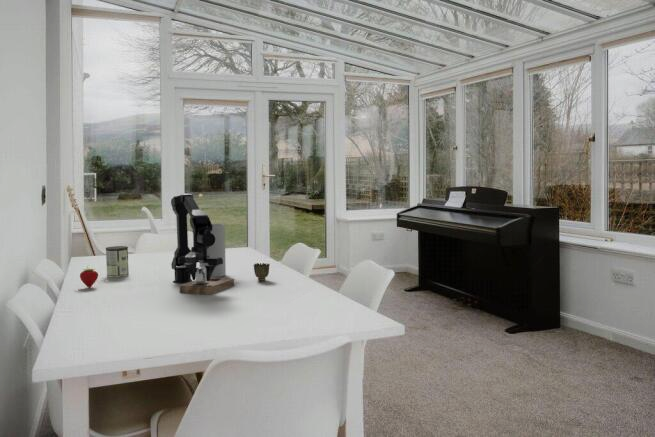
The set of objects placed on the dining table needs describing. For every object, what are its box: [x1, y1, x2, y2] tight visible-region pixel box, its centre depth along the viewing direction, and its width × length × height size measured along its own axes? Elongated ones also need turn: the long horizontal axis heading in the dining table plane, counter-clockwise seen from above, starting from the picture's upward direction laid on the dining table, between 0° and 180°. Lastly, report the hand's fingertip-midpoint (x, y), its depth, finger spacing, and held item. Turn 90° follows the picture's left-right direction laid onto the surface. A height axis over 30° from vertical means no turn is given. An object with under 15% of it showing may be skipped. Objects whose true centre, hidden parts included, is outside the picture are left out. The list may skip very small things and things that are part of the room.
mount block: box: [179, 277, 235, 296], centre depth 238 cm, size 14×21×3 cm, turn 160°
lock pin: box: [195, 266, 206, 286], centre depth 233 cm, size 4×4×10 cm
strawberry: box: [79, 265, 99, 288], centre depth 241 cm, size 6×8×10 cm
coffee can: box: [105, 245, 129, 278], centre depth 271 cm, size 10×10×14 cm
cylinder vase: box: [198, 223, 227, 278], centre depth 269 cm, size 12×12×25 cm
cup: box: [253, 262, 270, 282], centre depth 256 cm, size 8×7×8 cm
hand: (201, 280), depth 233 cm, fingers open, 7 cm apart
